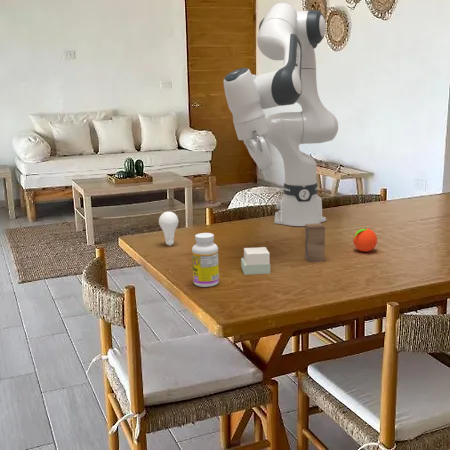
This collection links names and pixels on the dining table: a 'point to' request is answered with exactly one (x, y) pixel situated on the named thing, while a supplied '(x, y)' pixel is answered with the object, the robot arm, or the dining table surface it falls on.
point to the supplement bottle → (205, 261)
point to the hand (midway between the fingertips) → (265, 176)
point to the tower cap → (256, 256)
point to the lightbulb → (168, 226)
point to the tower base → (254, 268)
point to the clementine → (365, 240)
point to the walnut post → (314, 242)
